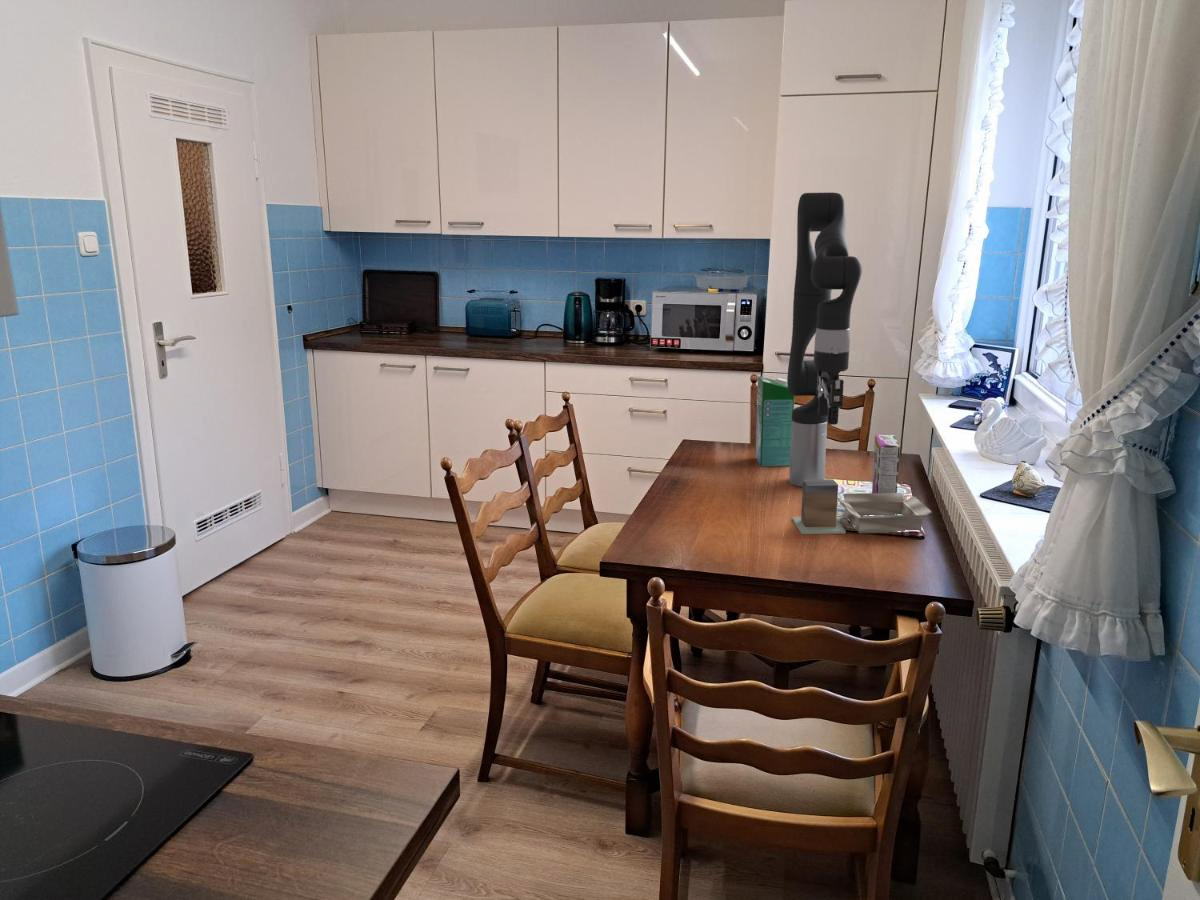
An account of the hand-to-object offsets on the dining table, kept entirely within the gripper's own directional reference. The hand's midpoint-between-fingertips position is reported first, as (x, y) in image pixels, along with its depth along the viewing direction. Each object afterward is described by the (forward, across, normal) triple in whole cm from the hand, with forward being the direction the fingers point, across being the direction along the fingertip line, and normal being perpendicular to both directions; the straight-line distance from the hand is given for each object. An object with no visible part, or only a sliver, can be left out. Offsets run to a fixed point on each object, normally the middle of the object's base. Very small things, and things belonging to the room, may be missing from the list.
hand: (827, 419), depth 194 cm
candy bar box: (+26, -14, +18) cm, 34 cm away
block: (+24, +2, -1) cm, 24 cm away
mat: (+25, +2, -1) cm, 25 cm away
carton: (+25, +1, +14) cm, 28 cm away
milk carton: (+26, -53, -2) cm, 59 cm away
